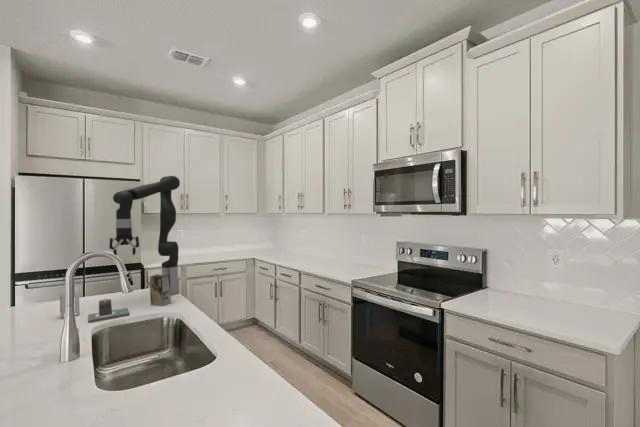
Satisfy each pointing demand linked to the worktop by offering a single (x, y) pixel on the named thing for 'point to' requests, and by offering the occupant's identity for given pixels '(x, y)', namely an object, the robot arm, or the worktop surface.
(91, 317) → the control panel
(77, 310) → the milk bottle
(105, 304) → the knob
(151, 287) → the coffee box
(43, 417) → the worktop surface
